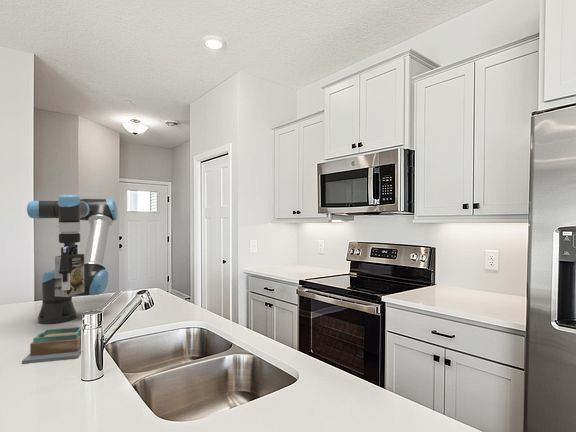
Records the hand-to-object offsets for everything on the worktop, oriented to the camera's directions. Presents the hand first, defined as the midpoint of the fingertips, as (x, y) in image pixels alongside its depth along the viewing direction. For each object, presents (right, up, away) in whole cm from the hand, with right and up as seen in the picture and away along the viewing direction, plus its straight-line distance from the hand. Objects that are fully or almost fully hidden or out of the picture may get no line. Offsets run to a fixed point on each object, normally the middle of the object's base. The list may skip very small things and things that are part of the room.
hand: (70, 287), depth 149 cm
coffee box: (0, -3, 0) cm, 3 cm away
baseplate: (+8, -19, -19) cm, 28 cm away
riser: (+8, -19, -19) cm, 28 cm away
